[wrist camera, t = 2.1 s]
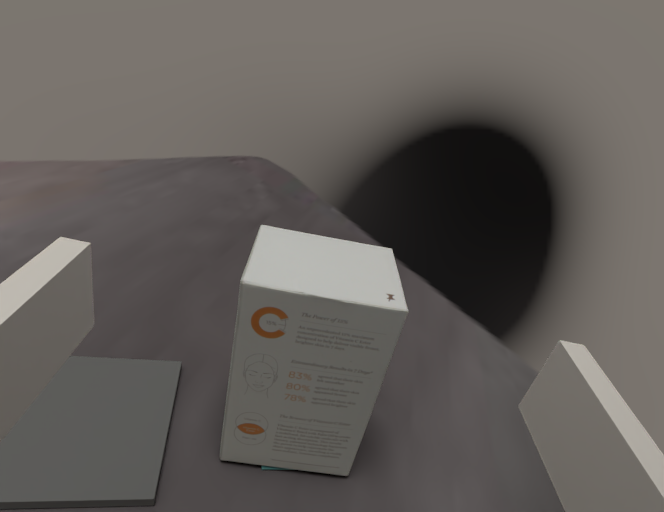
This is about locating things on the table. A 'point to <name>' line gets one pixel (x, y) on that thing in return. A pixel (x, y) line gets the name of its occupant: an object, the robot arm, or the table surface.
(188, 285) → the table surface
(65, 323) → the robot arm
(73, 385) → the gray slab
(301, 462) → the small box
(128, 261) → the table surface
